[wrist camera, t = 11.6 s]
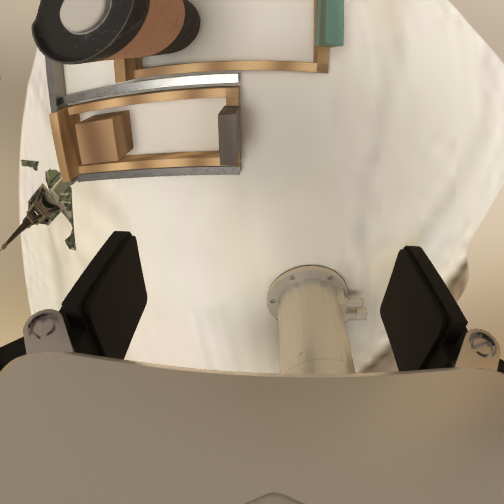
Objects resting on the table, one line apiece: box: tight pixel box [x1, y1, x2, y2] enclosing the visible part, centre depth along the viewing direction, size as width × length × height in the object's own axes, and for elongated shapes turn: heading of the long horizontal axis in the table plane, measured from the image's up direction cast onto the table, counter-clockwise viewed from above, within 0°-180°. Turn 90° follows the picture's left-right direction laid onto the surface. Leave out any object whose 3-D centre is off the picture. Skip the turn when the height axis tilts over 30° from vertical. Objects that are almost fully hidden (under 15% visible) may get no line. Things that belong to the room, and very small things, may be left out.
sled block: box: [49, 86, 240, 182], centre depth 32 cm, size 22×9×8 cm, turn 90°
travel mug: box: [32, 0, 200, 64], centre depth 20 cm, size 8×8×20 cm
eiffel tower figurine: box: [1, 160, 76, 250], centre depth 37 cm, size 15×10×13 cm
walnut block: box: [75, 110, 133, 164], centre depth 34 cm, size 5×5×5 cm
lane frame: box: [45, 56, 241, 186], centre depth 30 cm, size 24×26×2 cm
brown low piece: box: [114, 0, 344, 83], centre depth 25 cm, size 22×12×8 cm, turn 90°
